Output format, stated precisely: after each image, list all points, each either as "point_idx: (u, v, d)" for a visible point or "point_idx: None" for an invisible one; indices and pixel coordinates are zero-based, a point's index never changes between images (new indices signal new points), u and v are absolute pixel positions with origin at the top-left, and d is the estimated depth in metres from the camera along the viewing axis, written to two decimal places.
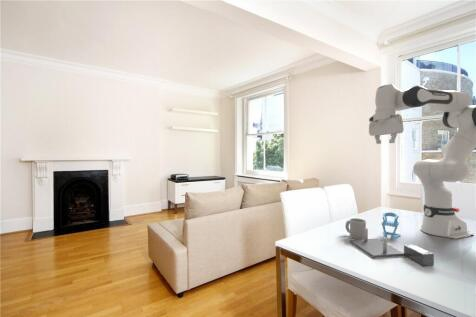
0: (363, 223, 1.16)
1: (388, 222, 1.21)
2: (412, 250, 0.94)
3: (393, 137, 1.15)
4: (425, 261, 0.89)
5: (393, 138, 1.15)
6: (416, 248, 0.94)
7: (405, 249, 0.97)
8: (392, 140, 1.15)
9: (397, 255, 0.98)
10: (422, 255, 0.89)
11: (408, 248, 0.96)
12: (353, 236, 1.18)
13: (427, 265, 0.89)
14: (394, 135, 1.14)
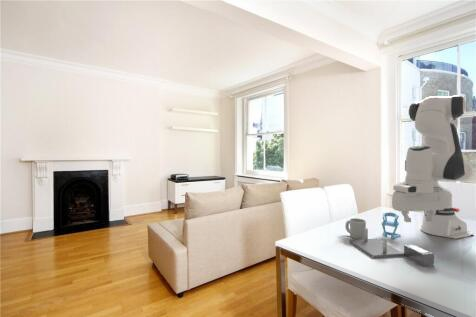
0: (363, 223, 1.16)
1: (388, 222, 1.21)
2: (412, 250, 0.94)
3: None
4: (425, 261, 0.89)
5: None
6: (416, 248, 0.94)
7: (405, 249, 0.97)
8: None
9: (397, 255, 0.98)
10: (422, 255, 0.89)
11: (408, 248, 0.96)
12: (353, 236, 1.18)
13: (427, 265, 0.89)
14: None
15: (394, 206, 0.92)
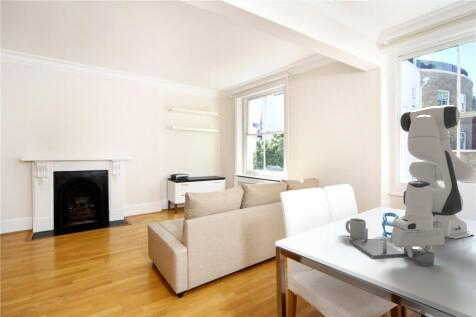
0: (363, 223, 1.16)
1: (388, 222, 1.21)
2: (412, 250, 0.94)
3: None
4: (425, 261, 0.89)
5: None
6: (416, 248, 0.94)
7: (405, 249, 0.97)
8: None
9: (397, 255, 0.98)
10: (422, 255, 0.89)
11: None
12: (353, 236, 1.18)
13: (427, 265, 0.89)
14: None
15: (394, 242, 0.93)
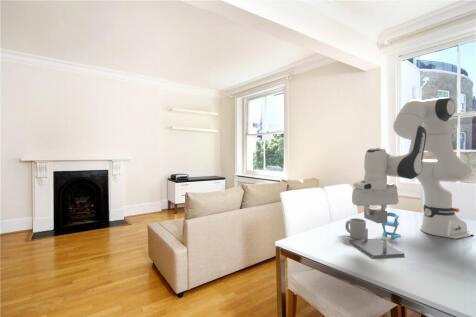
0: (363, 223, 1.16)
1: (388, 222, 1.21)
2: (370, 210, 1.05)
3: None
4: (379, 218, 1.00)
5: None
6: (373, 208, 1.06)
7: (365, 210, 1.09)
8: None
9: (397, 255, 0.98)
10: (377, 212, 1.01)
11: None
12: (353, 236, 1.18)
13: (381, 221, 1.01)
14: None
15: (353, 201, 1.04)
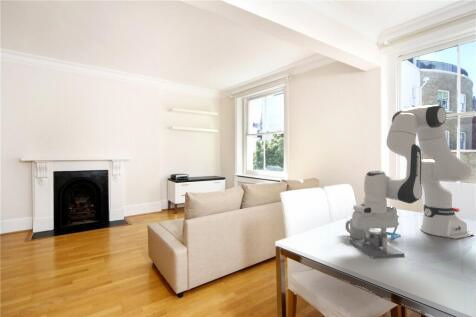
0: None
1: None
2: None
3: None
4: (379, 242, 1.01)
5: None
6: (373, 231, 1.06)
7: None
8: None
9: (397, 255, 0.98)
10: (376, 236, 1.01)
11: None
12: (353, 236, 1.18)
13: (381, 245, 1.01)
14: None
15: (353, 224, 1.05)
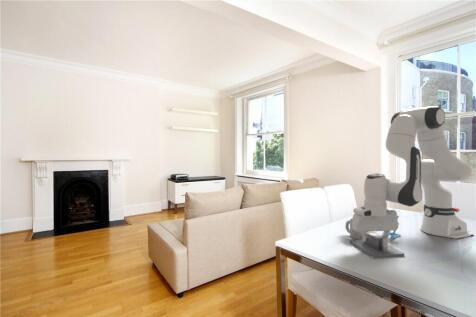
0: None
1: None
2: (370, 236, 1.05)
3: None
4: (380, 245, 1.01)
5: None
6: (374, 234, 1.06)
7: (365, 235, 1.09)
8: None
9: (397, 255, 0.98)
10: (377, 240, 1.01)
11: (367, 234, 1.07)
12: (353, 236, 1.18)
13: (381, 249, 1.01)
14: None
15: (353, 227, 1.05)
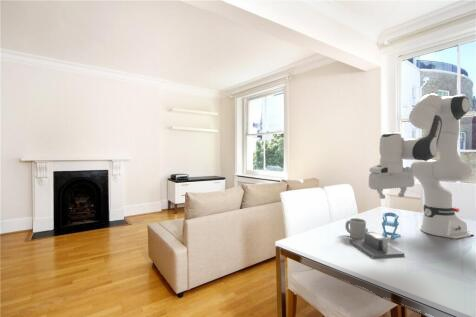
0: (363, 223, 1.16)
1: (388, 222, 1.21)
2: (370, 236, 1.05)
3: None
4: (380, 245, 1.01)
5: None
6: (374, 234, 1.06)
7: (365, 235, 1.09)
8: None
9: (397, 255, 0.98)
10: (377, 240, 1.01)
11: (367, 234, 1.07)
12: (353, 236, 1.18)
13: (381, 249, 1.01)
14: None
15: (370, 185, 1.07)
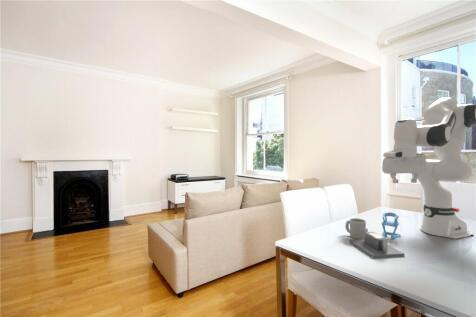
0: (363, 223, 1.16)
1: (388, 222, 1.21)
2: (370, 236, 1.05)
3: None
4: (380, 245, 1.01)
5: None
6: (374, 234, 1.06)
7: (365, 235, 1.09)
8: None
9: (397, 255, 0.98)
10: (377, 240, 1.01)
11: (367, 234, 1.07)
12: (353, 236, 1.18)
13: (381, 249, 1.01)
14: None
15: (384, 170, 1.09)
